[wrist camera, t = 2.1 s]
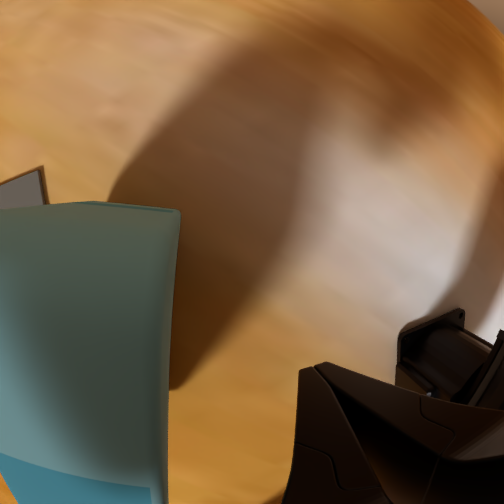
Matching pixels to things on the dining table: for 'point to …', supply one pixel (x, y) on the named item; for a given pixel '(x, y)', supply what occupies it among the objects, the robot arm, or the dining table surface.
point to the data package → (86, 351)
